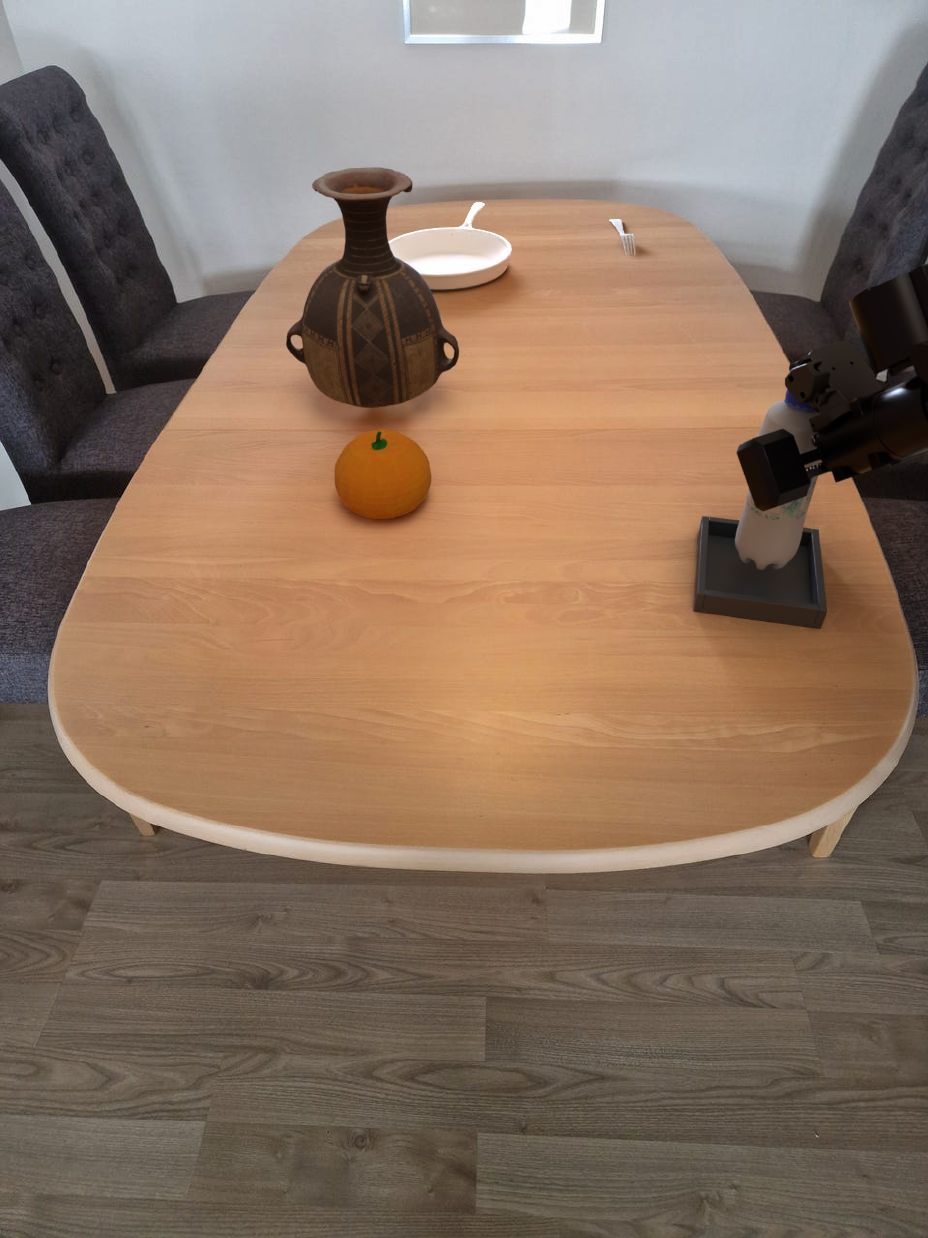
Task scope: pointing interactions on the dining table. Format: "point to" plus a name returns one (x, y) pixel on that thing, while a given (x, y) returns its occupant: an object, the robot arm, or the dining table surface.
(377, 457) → the fruit
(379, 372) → the vase
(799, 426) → the bottle
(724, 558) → the tray
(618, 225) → the fork
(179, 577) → the dining table surface
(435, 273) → the pan
